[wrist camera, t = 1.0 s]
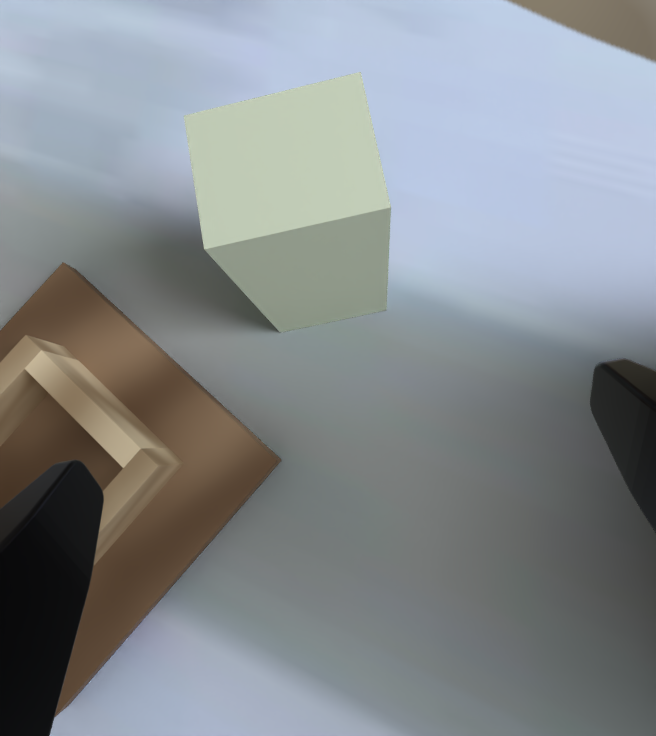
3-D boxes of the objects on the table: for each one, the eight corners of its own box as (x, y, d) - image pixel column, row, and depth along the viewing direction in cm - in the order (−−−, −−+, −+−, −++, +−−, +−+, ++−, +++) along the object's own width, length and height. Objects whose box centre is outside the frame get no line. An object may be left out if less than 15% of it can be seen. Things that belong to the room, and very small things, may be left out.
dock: (282, 460, 22) (263, 463, 18) (67, 705, 21) (7, 756, 18) (76, 269, 24) (25, 241, 21) (-121, 484, 24) (-206, 492, 20)
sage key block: (386, 310, 22) (390, 207, 13) (280, 332, 23) (204, 249, 13) (369, 229, 23) (360, 71, 13) (266, 252, 23) (183, 115, 14)
